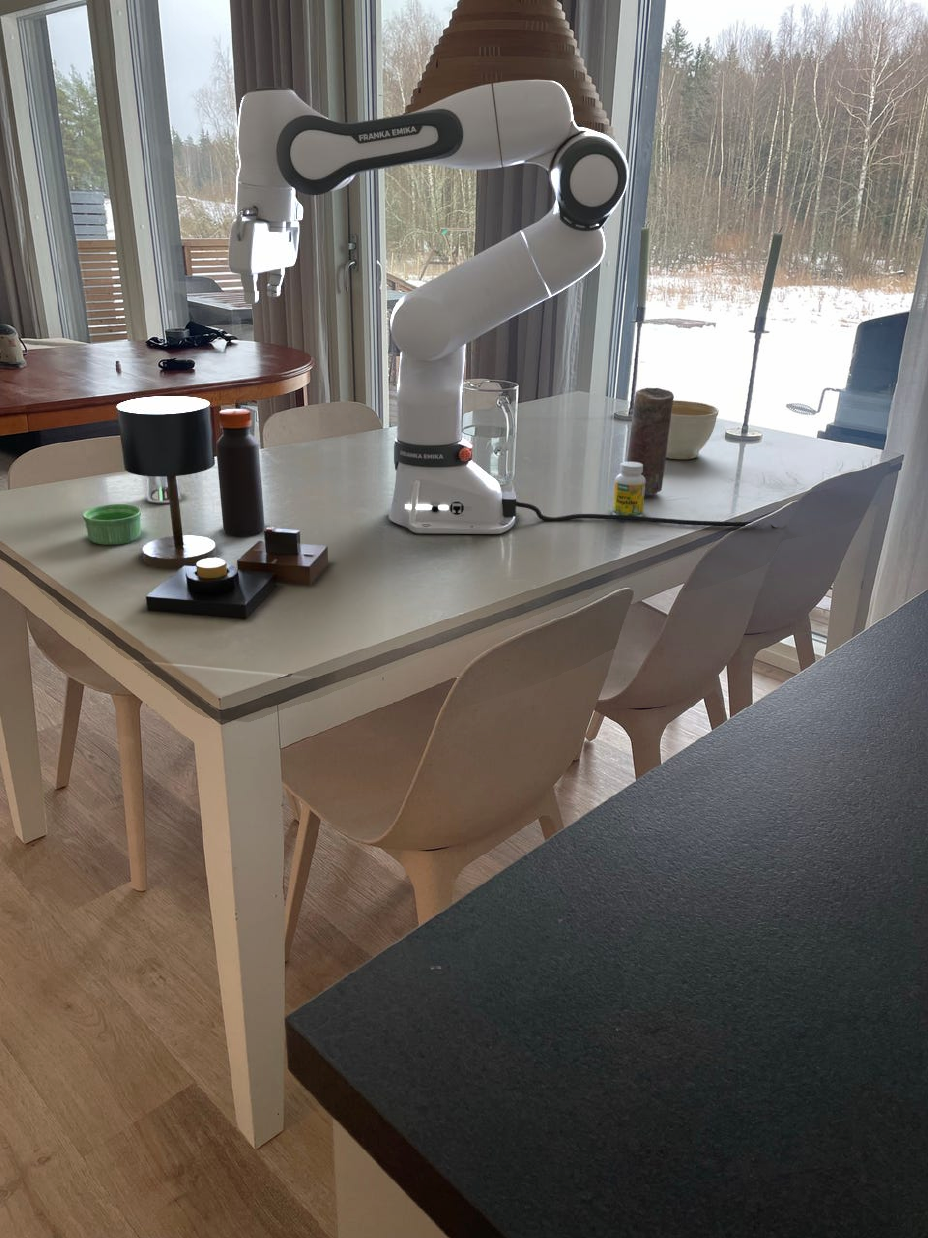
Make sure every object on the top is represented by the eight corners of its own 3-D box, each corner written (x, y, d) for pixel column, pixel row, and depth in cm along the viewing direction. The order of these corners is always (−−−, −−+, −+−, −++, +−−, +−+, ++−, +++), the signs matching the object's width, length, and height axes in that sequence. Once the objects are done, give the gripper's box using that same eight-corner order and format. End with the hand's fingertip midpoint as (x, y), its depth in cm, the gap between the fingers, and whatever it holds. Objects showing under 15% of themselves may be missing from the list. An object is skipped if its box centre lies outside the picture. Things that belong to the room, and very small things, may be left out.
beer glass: (172, 505, 169) (163, 423, 163) (137, 502, 170) (127, 420, 164) (190, 495, 175) (182, 415, 169) (156, 492, 176) (147, 413, 170)
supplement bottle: (643, 513, 171) (649, 461, 167) (640, 521, 166) (645, 469, 162) (614, 510, 172) (619, 459, 168) (609, 518, 167) (614, 466, 163)
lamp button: (231, 570, 130) (230, 558, 129) (220, 581, 126) (219, 568, 126) (204, 568, 130) (203, 556, 130) (192, 578, 127) (191, 566, 126)
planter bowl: (627, 455, 211) (631, 406, 206) (662, 443, 222) (667, 397, 218) (690, 468, 201) (697, 417, 197) (724, 455, 213) (731, 407, 208)
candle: (666, 492, 184) (678, 389, 176) (657, 501, 178) (668, 395, 169) (628, 486, 187) (638, 385, 178) (618, 496, 180) (628, 391, 172)
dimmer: (328, 564, 143) (327, 544, 142) (310, 585, 135) (309, 565, 134) (260, 558, 145) (259, 539, 143) (238, 579, 136) (236, 559, 135)
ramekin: (89, 549, 147) (85, 523, 145) (83, 532, 154) (80, 507, 152) (147, 542, 150) (144, 516, 149) (140, 526, 158) (137, 501, 156)
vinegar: (270, 532, 156) (262, 413, 148) (231, 539, 153) (220, 417, 145) (256, 521, 161) (247, 405, 153) (218, 527, 158) (207, 409, 150)
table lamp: (235, 545, 150) (223, 398, 140) (202, 574, 138) (186, 415, 129) (160, 539, 152) (142, 394, 142) (120, 567, 140) (99, 410, 130)
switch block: (277, 586, 134) (275, 560, 133) (246, 620, 123) (244, 592, 122) (185, 579, 136) (182, 553, 135) (147, 611, 125) (143, 583, 124)
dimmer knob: (301, 552, 139) (299, 528, 137) (297, 555, 138) (296, 531, 136) (269, 549, 140) (267, 526, 138) (265, 553, 138) (263, 529, 137)
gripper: (259, 210, 133) (256, 310, 139) (306, 207, 151) (302, 296, 158) (217, 204, 134) (216, 303, 140) (270, 202, 152) (267, 290, 158)
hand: (262, 299), depth 149 cm, fingers open, 8 cm apart
